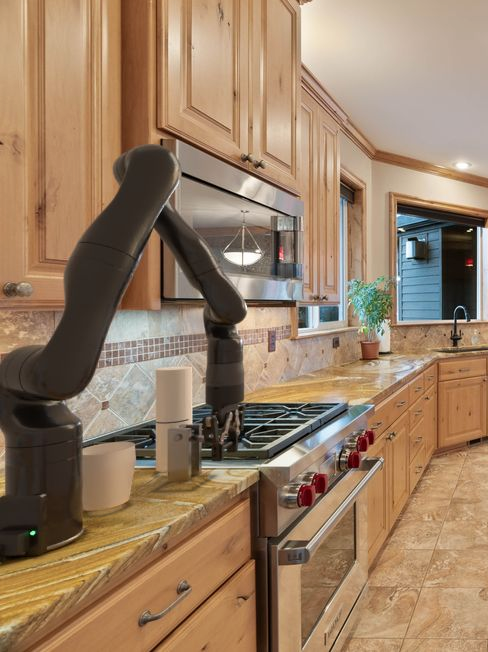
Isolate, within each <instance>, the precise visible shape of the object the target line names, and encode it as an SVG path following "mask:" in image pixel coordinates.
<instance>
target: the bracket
mask: <svg viewBox="0 0 488 652" xmlns="http://www.w3.org/2000/svg"><path fill="white" fill-rule="evenodd" d="M181 427H187V428H181ZM191 429H194V430H196V431H195V434H196V435H200V436H203V425H202V423H192V424H181V425H179V428H174V429H168V472H167V483H189V482H190V481H192V476H200V475H202V473H203V470H202V469H203V468H202V467H203V465H202V464H203V462H202V461H203V457H202V456H203V455H202V453H203V452H202V451H203V449H202V448H203V443H201V442H198V441H194V440H191Z"/></svg>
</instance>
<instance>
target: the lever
mask: <svg viewBox="0 0 488 652" xmlns="http://www.w3.org/2000/svg"><path fill="white" fill-rule="evenodd" d="M181 428H187V427H181ZM195 431H196V430H194V429H191V440H194V441H198V442H201V443H202V444H205V443H204V435H202V436H200V435H196V434H195ZM223 444H224V451H225V450H226V449H227V448H228V447H230V446H232V445H233V444H234V440H232V439H230V440H228V441H226V440H225V442H223ZM207 445H209V446H211V444H207Z"/></svg>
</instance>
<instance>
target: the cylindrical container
mask: <svg viewBox="0 0 488 652" xmlns="http://www.w3.org/2000/svg"><path fill="white" fill-rule="evenodd" d="M181 424H193V366H189V365H188V366H186V365H185V366H184V365H183V366H180V365H179V366H165V367H157V368H155V471H157V472H162V473H164V472H165V473H168V429H174V428H179V425H181Z"/></svg>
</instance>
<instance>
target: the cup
mask: <svg viewBox="0 0 488 652" xmlns="http://www.w3.org/2000/svg"><path fill="white" fill-rule="evenodd" d="M136 462H137V455H136V444H135V442H132V441H114V442H105V443H99V444H94V445H90V446H86V447H83V511H87V512H90V511H93V512H94V511H102V510H106V509H107V510H108V509H111V508H115V507H118V506H121V505H123V504H125V503H127V502H128V501H129V500H130V498H131V497H130V496H131V491H132V485H133V479H134V473H135V468H136Z"/></svg>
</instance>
